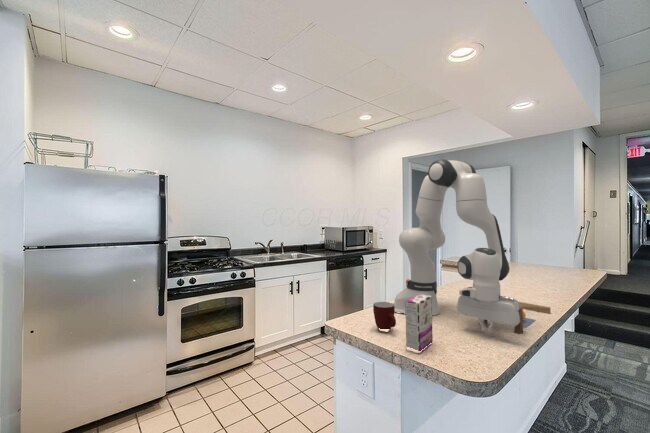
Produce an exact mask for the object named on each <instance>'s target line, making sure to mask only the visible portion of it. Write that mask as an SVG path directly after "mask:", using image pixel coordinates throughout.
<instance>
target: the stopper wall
mask: <svg viewBox="0 0 650 433" xmlns="http://www.w3.org/2000/svg"><path fill="white" fill-rule="evenodd" d="M518 302H519V307H521V308H523V310H528V311H533V312H538V313H543V314H549V315H550V314H551V306H546V305H539V304H533V303H528V302H522V301H518Z"/></svg>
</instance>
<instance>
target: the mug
mask: <svg viewBox="0 0 650 433" xmlns="http://www.w3.org/2000/svg"><path fill="white" fill-rule="evenodd" d="M393 303H394V302H390V301H389V302H388V301H375V302H373V306H372V308H373V315H374V316H373V317H374V320H375V322H374V323H375V325H376V327H377V329H378V328H380V329H390V330H391V329H392V328H395V327H396V326H397V325H396V324H397V321H396V320H397V319H396V317H395V314H396V313H395V306H394V304H393Z"/></svg>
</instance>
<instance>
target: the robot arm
mask: <svg viewBox="0 0 650 433" xmlns="http://www.w3.org/2000/svg"><path fill="white" fill-rule="evenodd" d="M428 167H429V168H428V171H427V175H425V177H424V178H423V181H422V183H421V186H420V190H419V193H418V197H417V201H416V202H417V203H416V205H415V206H416V207H415V215H416V216H417V218H418V219H419V220H418V221H419V227H411V228H407V229H404V230H402V231H401V233H399V236H398V242H399V246H400V247H401V249H403V250H404V252H405V253H406V255H407V258H408V262H409V267H410V279H409V278H407V279H406V280H405V283H406V286H405V288H404V289H403V290H402V291H400V292H399V293H397V294H396V296H395V298H394V302H392V303H393V304H394V306H395V312H400V313H405V301H406V300H408V299H410V298H412V297H414V296H416V295H418V294H422V295H428V296H431V302H432V316H437V315H439V314H440V313H441V311H440V308H439V304H438V298H437V294H438V283H437V280H436V278H437V276H436V274H437V273H436V264H435V262H434V261H433V260H431V257H430V255H429V251H434V250H437V249H439V248H441V247H443V246H444V245H445V243H446V235H445V233H444V232H443V230H442V225H441V216H442V211H443V206H444V203H445V202H444V199H445V195H446V193H447V191H448V189H450V188H452V189H453V190H454V192H455V207H456V208H455V209H456V214H457V216H458V217H459V219H460V220H461V221H463V222H465V223H466V224H468V225H471V226H473V227H477V228H478V229H480V230H482V231H483V233H484V234H485V235H484V236H485V239H486V242H487V247H477V248H475V249H474V250H473V252H471V253H470V254H465V255H462V256H461V257H460V258H458V261H457V271H458V274H459V276H461V278H463V279H465V280H472V286H469V287H464V288H462V289H460V290H458V291H459V295H460V296H459V297H458V298H457V306H456V308H457V312H458V313H459V314H461V315H463V316H469V317H472V318H477V319H478V323H480V324H481V325H480V324H479V325H480V326H481V331H482V332H485V333H488V334H489V333H490V334H492V333H493V327H494V326H495V325H496V324H497V323H498V324H503V325H506V326H511V327H514V326H516V325H518V324H519V323H520V317H519V302H520V301H518V300H517V299H515V297H509V296H504V295H501V284H500V281H503V280H504V279H505V278H506V277H507V276H508V275H509V273H510V263H509V261H508V258H507V256H506V253H505V248H504V242H503V239H502V238H503V237H502V234H501V231H500V230H501V229H500V225H499V223H498V220H497V216H495V214H493V213H492V212H491V211H490V208H489V206H488V199H487V198H488V197H487V196H488V195H487V189H486V184H485V181H484V178H483V176H482V175H481V174H478V173H477V172H476V168H475V167H474V166H473V165H472V164H470V163H468V162H466V161H465V162H464V161H460V160H457V159H453V160H451V159H443V158H442V159H437V160H434V161H433V162H431V164H430V165H429V166H428ZM400 313H399V314H400ZM484 320H488V324H490V325H485V323H484Z"/></svg>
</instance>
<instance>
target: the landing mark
mask: <svg viewBox="0 0 650 433" xmlns="http://www.w3.org/2000/svg"><path fill="white" fill-rule="evenodd" d="M534 322H536V319H533V318H530V317H529V318H528V317H525V319H524V320H523V329H525V328H528V327H530V326H531V325H532V324H533V323H534Z"/></svg>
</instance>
